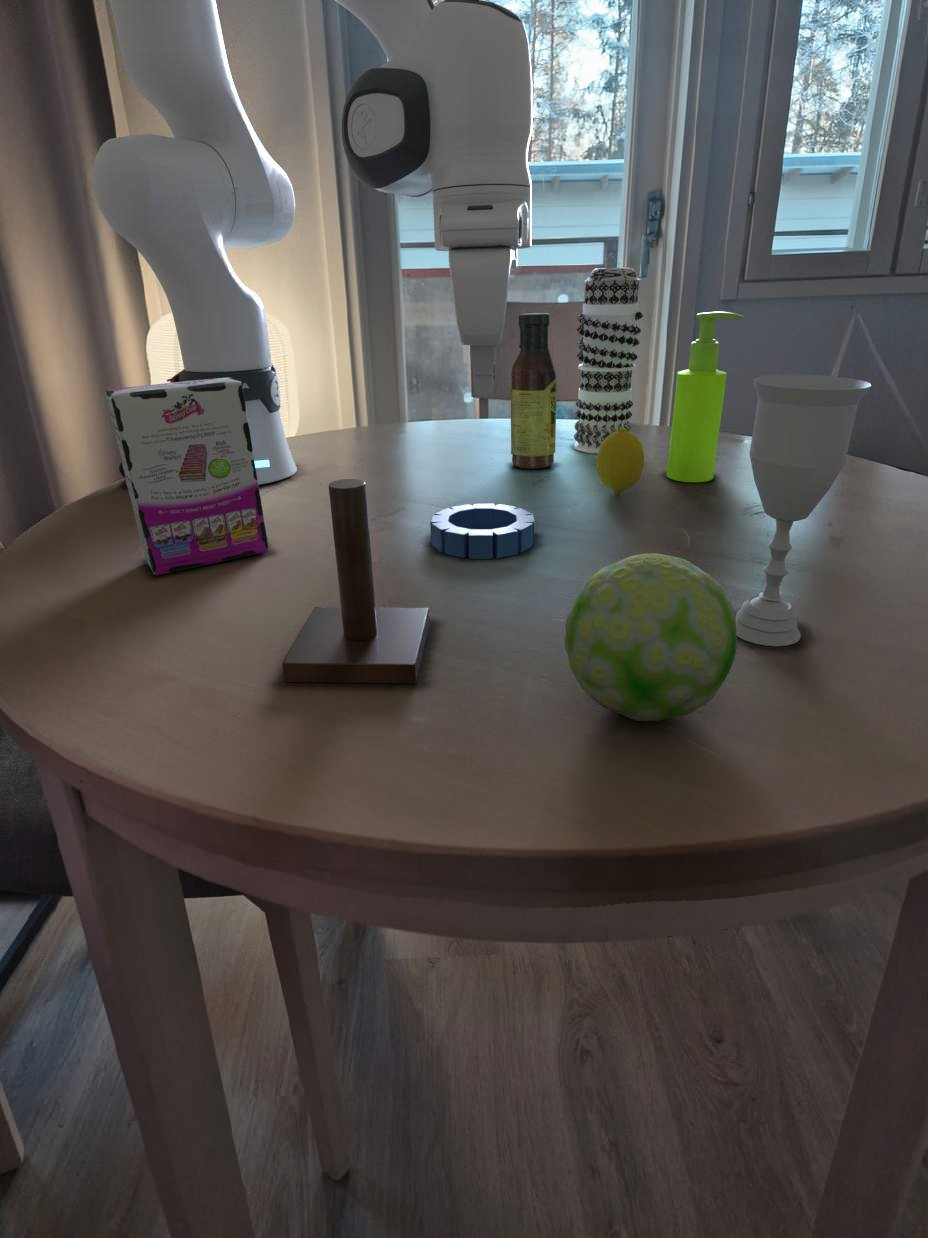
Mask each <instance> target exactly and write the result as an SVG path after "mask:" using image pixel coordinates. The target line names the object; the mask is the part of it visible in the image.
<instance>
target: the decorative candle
mask: <svg viewBox="0 0 928 1238" xmlns="http://www.w3.org/2000/svg"><path fill="white" fill-rule="evenodd" d="M640 281H641V278H639V277H638V275H637V273H636V271H635V269H634V268H632V267H597V268H594V269H593V270H592V271H591V272H590V273H589V276H588V277H587V279H585V280H584V287H585V288H584V295H583V297H584V301H583V303H582V312H580V313H579V314H578V316H577V321H578V322H579V323H580V325H579V326H578V327H577V328H576V331H577V332H578V334H579V335H580V336H581V339H579V340H578V342H577V344H576V346H577V347H578V349H579V352H578V353H577V354H576V357H577V359H578V361H580V362H581V363H579V364H578V366H577V369H578V370H580V379H579V383H580V385H579V388H578V392H577V393H578V395H577V396H578V397H577V398H578V399H577V401H575V406H576V407H577V408H579V409H578V410H577V411H576V412H575V417H576V418H578V420H577V421H576V422H575V423H574V430H575V431H576V432H575V433H574V435H573V439H574V440H575V441H576V442H575V443H574V445H573V448H574V449H575V450H576V451H579V452H582V453H589V454H598V452H599V449H600V446H601V444H602V442H603V441H604V439H605V438H606V437H607V436H609V435H610V434H611V433H614V432H616V431H618V430H619V429H620V428H626V430H627V431H628V432H630V431H631V429H632V424H631V423H630V422H629V419H630V418H631V417H633V413H632V412H631V411H630V410H629V409H631V408H632V407H633V406H634V402H633V401H632V400H631V399H632V390H633V388H631V387H632V375H633V370H635V369H636V363H635V364H634V363H633V362H634V361H636V360H637V359H638V357H639V356H638V354H636V353H635V352H634V351H633V350H634V348H635V347H636V346H638V345H639V344H640V343H641V341H640V340H639V339H638V338H637V337H636V336H637V335H639V334H640V333H641V331H642V329H641V327H639V326H638V324H636V322H637V321H640V319H642V318H643V317H644V314H643V313H642V312H641V311H639V302H638V301H639V299H638V298H639V288H640V287H639V285H640ZM635 324H636V325H635Z"/></svg>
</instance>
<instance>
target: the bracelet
mask: <svg viewBox="0 0 928 1238" xmlns="http://www.w3.org/2000/svg"><path fill="white" fill-rule="evenodd" d="M495 504H496V503H473V505H472V504H470V503H468V504H461V505H455V506H450V508H449V507H446V508H444V509H442V510H439V511H437V512H435V513H434V514H433V515H431V519H430V524H429V525H430V526H429V527H430V544H431V547H433V548H435V550H437V551H439V552H440V553H441V554H443V553H444V554H445V555H448V556H452V557H456V558H462V559H465V558H467V557H468V559H469V560H493V559H494V557H495V558H496V559H501V558H506V557H507V558H508V557H512V556H516V555H518V554H522V553H524V552H526V551H527V550H528V549H531V548H532V547H533V545H534V544H535V516H534V514H533V513H532V512H529V511H527V510H526V509H524V508H522V507H519V508H518V506H513V505H508V504H502V503H498V504H496V505H495Z"/></svg>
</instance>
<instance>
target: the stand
mask: <svg viewBox="0 0 928 1238" xmlns="http://www.w3.org/2000/svg"><path fill="white" fill-rule="evenodd" d="M366 485H367V484H366V482H365V481H364V480H362V479H357V478H346V479H345V478H343V479H336V480H333V481H330V482H329V483H328V495H329V504H330V505H329V506H330V515H331V522H332V523H331V524H332V533H333V543H334V544H333V545H334V552H335V554H334V555H335V562H336V572H337V582H338V591H339V593H338V594H339V601H340V606H314V608H313V609H312V610H311V613H310V614H309V616H308V617H307V619H306V621H305V623H304V625H303V626H302V628H301V630H300V632H299V633H298V635H297V636H296V638H295V640H294V641H293V644H292V645H291V647H290V649H289V650H288V652H287V654H286V655H285V658H284V659H283V660H282V662H281V665H282V671H283V672H282V673H283V680H284V682H285V683H330V684H331V683H333V684H337V683H339V684H405V685H406V684H409V685H410V684H412V685H413V684H417V683H418V682H417V681H418V677H419V672H420V667H421V665H422V660H423V655H424V651H425V646H426V642H427V637H428V632H429V630H430V629H429V628H430V608H429V607H385V606H384V607H383V606H382V607H379V606H377V607H376V599H375V598H376V597H375V587H374V586H375V584H374V574H373V572H374V571H373V561H372V549H371V548H372V547H371V536H370V524H369V522H370V521H369V510H368V497H367V486H366Z"/></svg>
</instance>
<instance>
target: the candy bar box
mask: <svg viewBox="0 0 928 1238" xmlns="http://www.w3.org/2000/svg"><path fill="white" fill-rule="evenodd" d="M104 395H105V400H106V404H107V408H108V411H109V412H108V413H109V415H110V419H111V424H112V427H113V432H114V436H115V441H116V443H117V449H118V452H119V456H120V461H121V462H122V465H123V469H124V473H125V478H124V479H125V483H126V482H127V485H126V487H127V486H128V487H127V490H128V495H129V498H130V503H131V506H132V510H133V514H134V519H135V522H136V527H137V531H138V535H139V540H140V543H141V547H142V552H143V553H144V554H143V555H144V559H145V561H146V563H147V565H148V566H149V569H150V570H151V571H152V574H153V575H154V576H161V575H167V574H171V573H176V572H181V571H185V570H191V569H195V568H200V567H204V566H208V565H214V564H218V563H219V564H220V563H223V562H228V561H231V560H237V559H241V558H246V557H250V556H255V555H260V554H265V553H267V552H269V551H270V548H269V542H268V535H267V529H266V522H265V517H264V511H263V505H262V498H261V493H260V492H261V491H260V485H258V479H257V474H256V468H255V461H254V455H253V449H252V442H251V436H250V429H249V424H248V418H247V412H246V405H245V399H244V393H243V388H242V382H240V381H237V380H235V379H232V378H231V377H227V378H216V379H205V380H194V381H183V382H173V383H170V382H166V383H155V384H147V385H146V384H145V385H138V386H127V387H118V388H107V389H104Z"/></svg>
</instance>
